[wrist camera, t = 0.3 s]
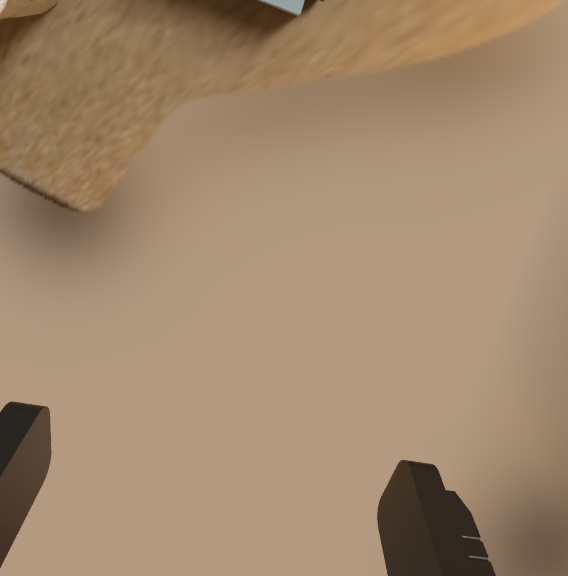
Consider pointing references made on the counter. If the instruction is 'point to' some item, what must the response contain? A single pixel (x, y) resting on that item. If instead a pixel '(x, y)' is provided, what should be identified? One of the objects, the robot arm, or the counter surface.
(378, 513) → the robot arm
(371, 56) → the counter surface
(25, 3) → the milkshake
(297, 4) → the chassis
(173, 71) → the counter surface
